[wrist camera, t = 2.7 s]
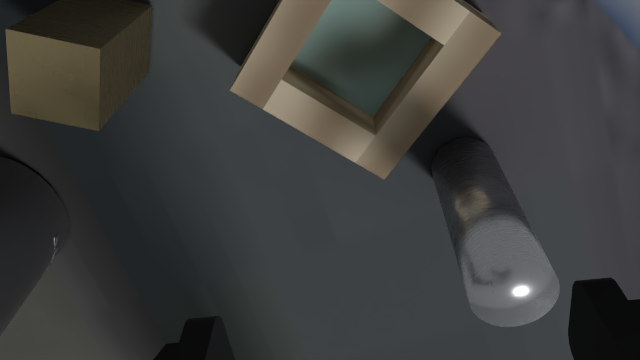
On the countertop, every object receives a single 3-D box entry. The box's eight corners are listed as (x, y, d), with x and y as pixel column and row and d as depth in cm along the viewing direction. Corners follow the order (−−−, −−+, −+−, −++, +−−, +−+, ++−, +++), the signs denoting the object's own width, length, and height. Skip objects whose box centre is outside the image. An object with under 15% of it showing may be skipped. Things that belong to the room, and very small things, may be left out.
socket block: (239, 68, 33) (230, 90, 30) (332, -92, 29) (332, -86, 26) (380, 151, 36) (384, 179, 32) (485, 15, 31) (501, 33, 28)
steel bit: (418, 174, 36) (450, 303, 26) (458, 126, 35) (510, 244, 24) (467, 202, 37) (517, 338, 27) (508, 157, 36) (578, 284, 25)
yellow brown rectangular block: (79, 58, 33) (11, 113, 26) (79, -11, 31) (5, 28, 24) (148, 72, 33) (98, 131, 26) (152, 5, 31) (100, 49, 24)
